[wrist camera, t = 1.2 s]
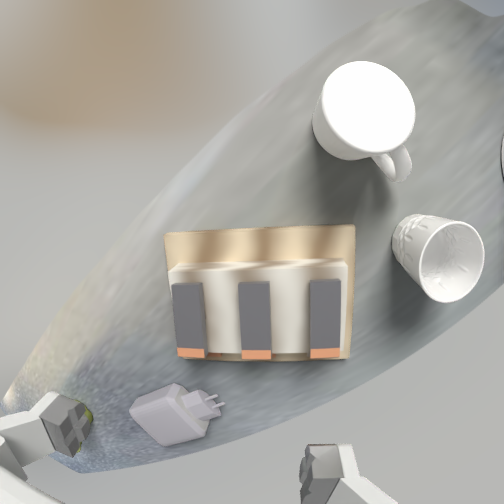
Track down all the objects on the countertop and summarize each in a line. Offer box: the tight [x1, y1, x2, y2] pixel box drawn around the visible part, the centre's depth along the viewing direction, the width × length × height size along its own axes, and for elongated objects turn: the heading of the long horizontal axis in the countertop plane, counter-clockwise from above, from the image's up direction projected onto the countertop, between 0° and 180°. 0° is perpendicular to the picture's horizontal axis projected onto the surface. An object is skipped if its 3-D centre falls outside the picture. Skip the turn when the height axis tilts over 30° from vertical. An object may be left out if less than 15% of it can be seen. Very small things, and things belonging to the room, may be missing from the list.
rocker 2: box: [238, 281, 272, 360], centre depth 30 cm, size 3×8×2 cm, turn 4°
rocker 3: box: [309, 279, 341, 359], centre depth 29 cm, size 3×8×2 cm, turn 4°
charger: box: [129, 383, 225, 446], centre depth 41 cm, size 5×9×15 cm
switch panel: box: [164, 224, 355, 361], centre depth 34 cm, size 22×17×6 cm
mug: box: [312, 61, 415, 183], centre depth 26 cm, size 8×10×12 cm
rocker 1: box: [171, 282, 208, 358], centre depth 31 cm, size 3×8×2 cm, turn 4°
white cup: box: [392, 214, 484, 303], centre depth 28 cm, size 8×8×10 cm
